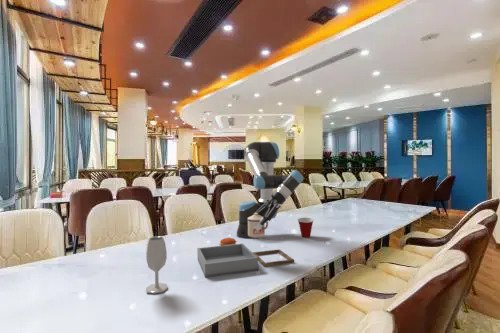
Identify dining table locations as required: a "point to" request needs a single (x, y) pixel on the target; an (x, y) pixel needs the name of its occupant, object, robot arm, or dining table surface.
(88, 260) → the dining table surface
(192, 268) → the dining table surface
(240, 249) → the bus tub
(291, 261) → the brown wooden frame
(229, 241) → the hamburger
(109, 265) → the dining table surface
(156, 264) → the wineglass
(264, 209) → the robot arm
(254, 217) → the teacup with lid
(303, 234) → the plastic cup
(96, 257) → the dining table surface
